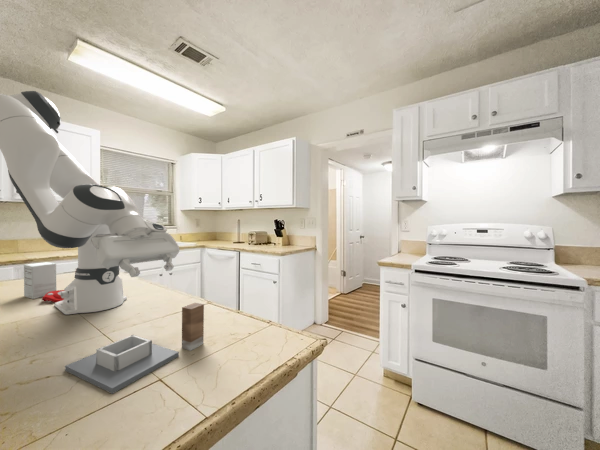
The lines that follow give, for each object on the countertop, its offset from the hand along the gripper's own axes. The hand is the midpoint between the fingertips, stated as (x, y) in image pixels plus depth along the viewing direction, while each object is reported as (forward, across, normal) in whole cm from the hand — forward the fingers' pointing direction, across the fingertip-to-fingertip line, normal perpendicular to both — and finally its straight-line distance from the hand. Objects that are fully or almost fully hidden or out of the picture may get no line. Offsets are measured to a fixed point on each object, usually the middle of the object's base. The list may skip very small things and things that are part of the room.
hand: (154, 272), depth 67 cm
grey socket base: (+17, -10, +8) cm, 21 cm away
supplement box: (-39, +2, +64) cm, 76 cm away
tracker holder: (-29, +5, +55) cm, 62 cm away
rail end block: (+21, +2, +3) cm, 22 cm away
